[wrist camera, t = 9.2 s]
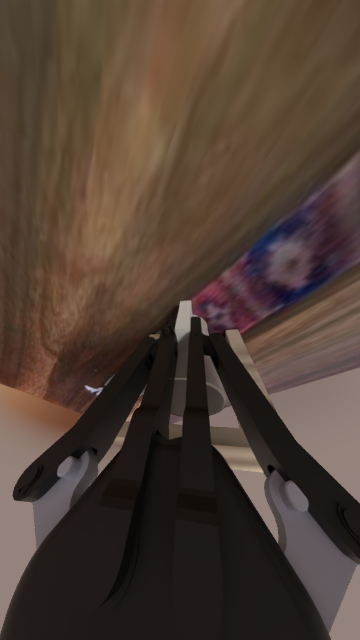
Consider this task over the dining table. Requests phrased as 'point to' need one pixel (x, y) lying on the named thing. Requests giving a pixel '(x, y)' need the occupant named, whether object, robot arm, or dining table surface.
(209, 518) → the robot arm
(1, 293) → the dining table surface
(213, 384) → the cup
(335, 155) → the dining table surface
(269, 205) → the dining table surface
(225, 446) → the shelf
